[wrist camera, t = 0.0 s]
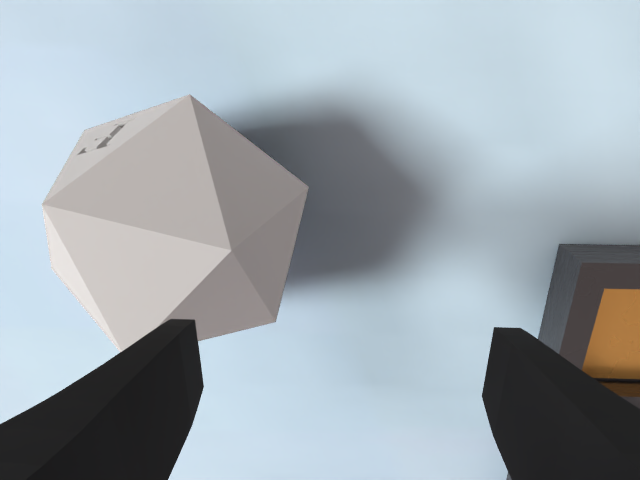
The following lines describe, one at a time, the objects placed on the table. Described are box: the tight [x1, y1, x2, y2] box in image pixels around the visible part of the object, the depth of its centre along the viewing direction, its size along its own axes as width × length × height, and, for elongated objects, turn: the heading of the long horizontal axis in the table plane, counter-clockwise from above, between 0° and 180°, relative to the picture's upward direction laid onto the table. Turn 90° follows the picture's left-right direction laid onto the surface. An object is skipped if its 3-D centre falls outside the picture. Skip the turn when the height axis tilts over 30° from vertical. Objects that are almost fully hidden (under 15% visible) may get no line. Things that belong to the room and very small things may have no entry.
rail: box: [507, 244, 640, 480], centre depth 23 cm, size 22×8×2 cm, turn 0°
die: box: [42, 95, 309, 352], centre depth 16 cm, size 8×9×10 cm
